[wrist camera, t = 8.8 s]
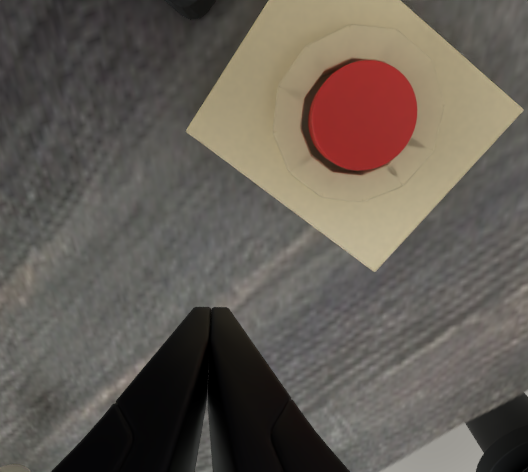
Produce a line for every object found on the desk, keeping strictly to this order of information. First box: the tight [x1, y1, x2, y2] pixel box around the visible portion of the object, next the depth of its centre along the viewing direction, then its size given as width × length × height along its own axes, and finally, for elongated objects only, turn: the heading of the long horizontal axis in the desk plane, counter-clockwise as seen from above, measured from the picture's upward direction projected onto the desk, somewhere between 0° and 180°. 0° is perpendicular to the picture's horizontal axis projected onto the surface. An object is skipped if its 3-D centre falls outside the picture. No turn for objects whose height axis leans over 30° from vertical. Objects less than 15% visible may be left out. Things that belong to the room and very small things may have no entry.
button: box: [308, 60, 417, 171], centre depth 14 cm, size 4×4×2 cm
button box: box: [186, 0, 523, 272], centre depth 16 cm, size 12×10×4 cm
